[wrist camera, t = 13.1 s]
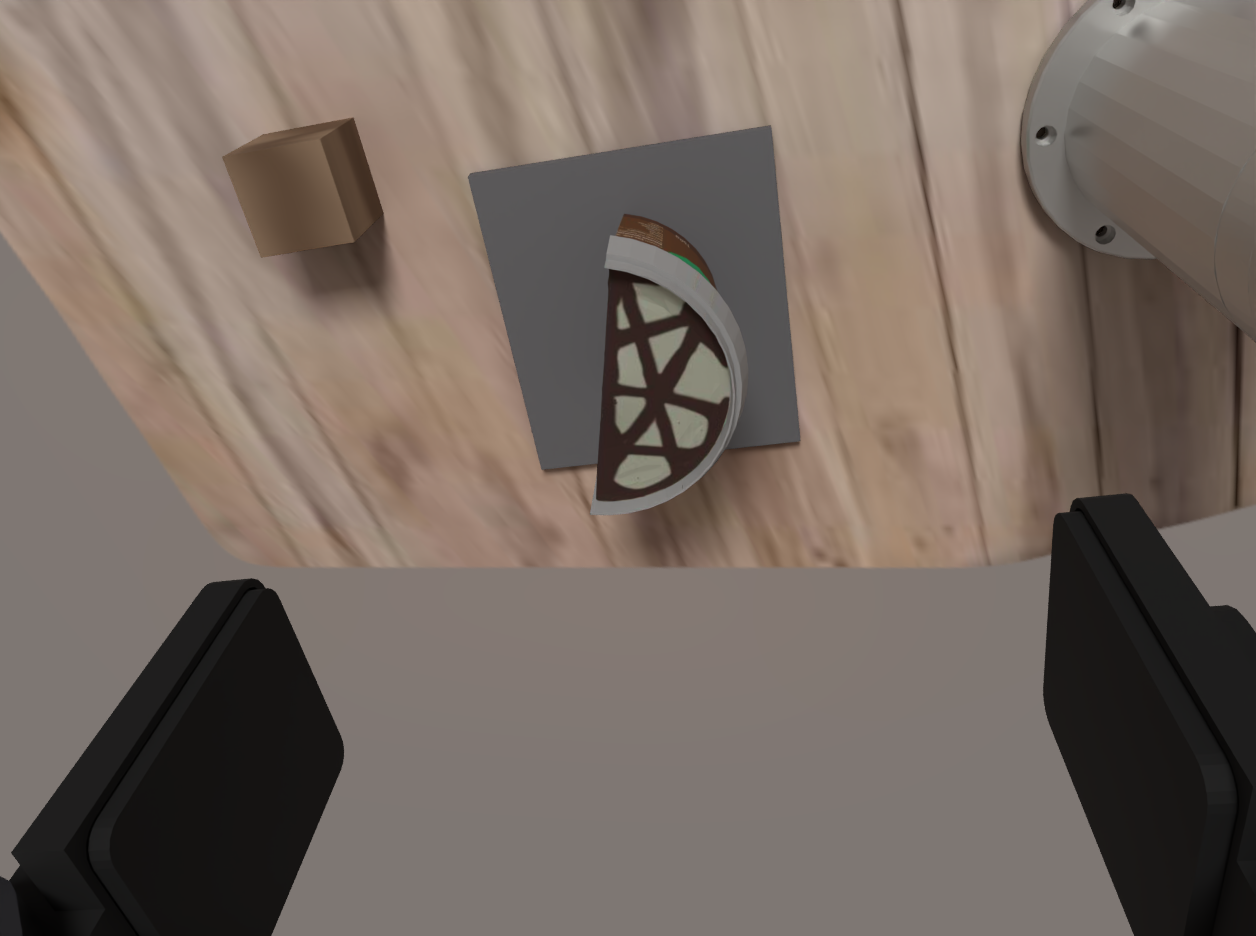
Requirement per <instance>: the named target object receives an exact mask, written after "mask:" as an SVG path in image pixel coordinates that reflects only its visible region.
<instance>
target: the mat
mask: <svg viewBox="0 0 1256 936" xmlns="http://www.w3.org/2000/svg"><path fill="white" fill-rule="evenodd" d="M468 179H469V183H470V187H471V191H472V195H473V199H474V203H475V207H476V211H477V215H478V219H479V223H480V227H481V231H482V235H483V239H484V243H485V247H486V251H487V255H488V259H489V262H490V266H491V270H492V274H493V278H494V282H495V286H496V290H497V294H498V298H499V302H500V306H501V310H502V314H503V318H504V322H505V326H506V330H507V334H508V338H509V342H510V346H511V350H512V354H513V358H514V362H515V366H516V370H517V374H518V378H519V382H520V386H521V390H522V394H523V397H524V401H525V405H526V409H527V413H528V417H529V421H530V425H531V429H532V433H533V437H534V441H535V445H536V449H537V453H538V457H539V461H540V465H541V469H542V470H543V469H552V468H561V467H570V466H580V465H589V464H598V448H599V434H600V421H601V401H602V384H603V370H604V351H605V337H606V320H607V306H608V305H607V303H608V278H609V269H607V268H604V266H605V262H606V253H607V248H608V244H609V239H610V235H612V236H615V235H616V232H617V230H618V227H619V225H620V222H621V219H622V217H623V214H630V215H636V216H642V217H645V218H648V219H651V220H654V221H657V222H659V223H661V224H663V225H665V226H667V227H669V228H671V229H673V230H674V231H676V232H677V233H679V234H680V235H681V236H683V237H684V238H685V239H686V240H687V241H689V242H690V243H691V244H692V245H693V246H694V247H695V248H696V249H697V251H698V252H699V253H700V255H701V256H702V257H703V259H704V260H705V262H706V264H707V265H708V267H709V269H710V271H711V273H712V276H713V279H714V282H715V285H716V288H717V292H718V293H719V294H720V296H721V297H722V298H723V300H724V301H725V303H726V304H727V305H728V307H729V308H730V310H731V312H732V314H733V316H734V318H735V320H736V322H737V324H738V326H739V328H740V332H741V335H742V338H743V341H744V345H745V348H746V355H747V363H748V386H747V394H746V398H745V403H744V407H743V411H742V413H741V416H740V418H739V421H738V423H737V425H736V428H735V430H734V432H733V434H732V437H731V439H730V441H729V444H728V445H727V447H726V448H725V449H734V448H743V447H752V446H761V445H770V444H779V443H788V442H797V441H800V431H799V421H798V410H797V399H796V388H795V377H794V367H793V356H792V345H791V334H790V324H789V313H788V302H787V291H786V280H785V270H784V259H783V248H782V237H781V227H780V216H779V205H778V194H777V183H776V173H775V162H774V151H773V140H772V130H771V125H770V126H764V127H758V128H751V129H745V130H739V131H733V132H726V133H720V134H714V135H708V136H701V137H695V138H689V139H683V140H676V141H670V142H664V143H658V144H651V145H645V146H639V147H632V148H626V149H620V150H614V151H607V152H601V153H595V154H589V155H582V156H576V157H570V158H564V159H557V160H551V161H545V162H539V163H532V164H526V165H520V166H514V167H507V168H501V169H495V170H489V171H482V172H476V173H471V174H470V175H469V176H468Z"/></svg>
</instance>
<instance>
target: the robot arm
mask: <svg viewBox="0 0 1256 936" xmlns="http://www.w3.org/2000/svg"><path fill="white" fill-rule="evenodd" d="M1112 4H1113V0H1087V1H1086V2H1085V3H1084V5H1083V6H1082V7H1081V8H1080V9H1079V10H1078V11H1077V12H1076V13H1075V14H1074V15H1073V17H1072V18H1071V19H1070V20H1069V21H1068V22H1067V23H1066V24H1065V25H1064V26H1063V28H1062V29H1061V31H1060V32H1059V34H1058V35H1057V37H1056V38H1055V40H1054V41H1053V43H1052V44H1051V46H1050V47H1049V49H1048V50H1047V52H1046V53H1045V55H1044V57H1043V59H1042V61H1041V63H1040V65H1039V68H1038V70H1037V72H1036V74H1035V76H1034V78H1033V81H1032V83H1031V86H1030V90H1029V93H1028V97H1027V101H1026V104H1025V108H1024V112H1023V121H1022V133H1021V147H1022V156H1023V164H1024V170H1025V173H1026V175H1027V178H1028V181H1029V184H1030V187H1031V190H1032V192H1033V194H1034V196H1035V197H1036V199H1037V201H1038V202H1039V204H1040V205H1041V207H1042V209H1043V210H1044V212H1045V213H1046V214H1047V215H1048V216H1049V217H1050V218H1051V219H1052V220H1053V221H1054V223H1055V224H1056V225H1057V226H1058V227H1059V228H1061V229H1062V230H1063V231H1064V232H1066V233H1067V234H1068V235H1069V236H1071V237H1072V238H1073V239H1075V240H1076V241H1077V242H1079V243H1081V244H1083V245H1085V246H1087V247H1089V248H1091V249H1093V250H1095V251H1098V252H1100V253H1105V254H1109V255H1113V256H1117V257H1121V258H1128V259H1151V260H1152V259H1158V260H1159V261H1160V262H1161V263H1163V264H1164V265H1165V266H1166V267H1167V268H1169V269H1170V270H1171V271H1172V272H1173V273H1174V274H1176V275H1177V276H1178V277H1179V278H1180V279H1182V280H1183V281H1184V282H1185V283H1186V284H1187V285H1189V286H1190V287H1191V288H1192V289H1193V290H1195V291H1196V292H1197V293H1198V294H1199V295H1201V296H1202V297H1203V298H1204V299H1205V300H1206V301H1208V302H1209V303H1210V304H1211V305H1212V306H1214V307H1215V308H1216V309H1217V310H1218V311H1220V312H1221V313H1222V314H1223V315H1224V316H1225V317H1227V318H1228V319H1229V320H1230V321H1231V322H1233V323H1234V324H1235V325H1236V326H1237V327H1239V328H1240V329H1241V330H1242V331H1243V332H1244V333H1246V334H1247V335H1248V336H1249V337H1250V338H1251V339H1252V340H1254V341H1255V342H1256V0H1122V1H1121V4H1120V5H1119V6H1118V7H1116V8H1113V7H1112ZM1042 127H1045V128H1046V132H1045V134H1044V135H1043V136H1042V137H1036V133H1037V132H1038V130H1039V129H1040V128H1042ZM1102 226H1104V229H1103V231H1102V232H1101V233H1098V234H1096V231H1097V230H1098V229H1099V228H1100V227H1102ZM1049 588H1050V589H1049V603H1048V604H1049V605H1048V620H1047V637H1046V652H1045V668H1044V669H1045V670H1044V685H1043V696H1044V705H1045V710H1046V715H1047V718H1048V721H1049V724H1050V727H1051V729H1052V732H1053V734H1054V737H1055V739H1056V742H1057V744H1058V747H1059V749H1060V752H1061V754H1062V757H1063V759H1064V762H1065V764H1066V767H1067V769H1068V772H1069V774H1070V777H1071V779H1072V782H1073V784H1074V787H1075V789H1076V792H1077V794H1078V797H1079V799H1080V802H1081V804H1082V806H1083V809H1084V812H1085V814H1086V817H1087V819H1088V822H1089V824H1090V827H1091V829H1092V832H1093V834H1094V837H1095V839H1096V842H1097V844H1098V847H1099V849H1100V852H1101V854H1102V857H1103V859H1104V862H1105V864H1106V867H1107V869H1108V872H1109V874H1110V877H1111V879H1112V882H1113V884H1114V887H1115V889H1116V892H1117V894H1118V897H1119V899H1120V902H1121V904H1122V906H1123V909H1124V912H1125V914H1126V917H1127V919H1128V922H1129V924H1130V927H1131V929H1132V932H1133V934H1134V936H1256V633H1255V631H1254V630H1253V628H1252V627H1251V625H1250V624H1249V623H1248V621H1247V620H1246V619H1245V618H1244V617H1243V616H1242V615H1241V613H1240V612H1239V611H1238V610H1237V609H1235V608H1233V607H1230V606H1228V605H1224V606H1211V607H1210V606H1209V604H1208V603H1207V602H1206V600H1205V599H1204V597H1203V596H1202V594H1201V593H1200V591H1199V590H1198V588H1197V587H1196V585H1195V584H1194V583H1193V581H1192V580H1191V578H1190V577H1189V576H1188V574H1187V572H1186V571H1185V570H1184V568H1183V567H1182V565H1181V564H1180V562H1179V561H1178V559H1177V558H1176V557H1175V555H1174V554H1173V552H1172V551H1171V549H1170V548H1169V547H1168V545H1167V543H1166V542H1165V540H1164V539H1163V538H1162V536H1161V535H1160V533H1159V532H1158V530H1157V529H1156V527H1155V526H1154V524H1153V523H1152V522H1151V520H1150V519H1149V517H1148V516H1147V514H1146V513H1145V511H1144V510H1143V508H1142V507H1141V506H1140V504H1139V503H1138V501H1137V500H1136V499H1135V498H1134V497H1133V495H1131V494H1127V493H1126V494H1116V495H1106V496H1096V497H1085V498H1076V499H1075V500H1073V502H1072V505H1071V508H1070V512H1065V513H1058V514H1056V516H1055V518H1054V524H1053V538H1052V555H1051V573H1050V587H1049ZM343 759H344V746H343V741H342V738H341V735H340V733H339V731H338V729H337V726H336V724H335V722H334V720H333V717H332V715H331V713H330V711H329V709H328V706H327V704H326V702H325V700H324V697H323V695H322V693H321V691H320V688H319V686H318V684H317V681H316V679H315V677H314V675H313V673H312V670H311V668H310V666H309V664H308V661H307V659H306V657H305V655H304V652H303V650H302V648H301V646H300V643H299V641H298V639H297V637H296V634H295V632H294V630H293V628H292V625H291V623H290V621H289V619H288V617H287V614H286V612H285V610H284V608H283V605H282V603H281V601H280V599H279V597H278V595H277V593H276V592H275V591H273V590H272V589H269V588H267V589H266V588H265V587H264V585H263V584H262V583H261V582H260V581H259V580H256V579H252V578H251V579H241V580H231V581H221V582H213V583H209V584H207V585H206V586H205V587H204V588H203V589H202V590H201V592H200V593H199V594H198V596H197V597H196V598H195V600H194V601H193V602H192V604H191V605H190V607H189V608H188V609H187V611H186V612H185V614H184V615H183V616H182V618H181V619H180V621H179V622H178V623H177V625H176V626H175V627H174V629H173V630H172V632H171V633H170V634H169V636H168V637H167V639H166V640H165V641H164V643H163V644H162V645H161V647H160V648H159V650H158V651H157V652H156V654H155V655H154V656H153V658H152V659H151V661H150V662H149V663H148V665H147V666H146V667H145V669H144V670H143V671H142V673H141V674H140V676H139V677H138V678H137V680H136V681H135V683H134V684H133V685H132V687H131V688H130V690H129V691H128V692H127V694H126V695H125V696H124V698H123V699H122V700H121V702H120V703H119V705H118V706H117V707H116V709H115V710H114V712H113V713H112V714H111V716H110V717H109V718H108V720H107V721H106V723H105V724H104V725H103V727H102V728H101V730H100V731H99V732H98V734H97V735H96V736H95V738H94V739H93V741H92V742H91V743H90V745H89V746H88V747H87V749H86V750H85V752H84V753H83V754H82V756H81V757H80V759H79V760H78V761H77V763H76V764H75V766H74V767H73V768H72V770H71V771H70V772H69V774H68V775H67V776H66V778H65V779H64V781H63V782H62V783H61V785H60V786H59V787H58V789H57V790H56V792H55V793H54V794H53V796H52V797H51V798H50V800H49V801H48V803H47V804H46V805H45V807H44V808H43V810H42V811H41V812H40V814H39V815H38V816H37V818H36V819H35V821H34V822H33V823H32V825H31V826H30V827H29V829H28V830H27V832H26V833H25V835H24V836H23V837H22V838H21V840H20V841H19V843H18V844H17V845H16V847H15V848H14V850H13V851H12V852H11V853H12V855H13V856H14V857H15V859H16V860H17V861H18V863H19V864H20V866H19V868H18V869H17V870H16V872H15V873H14V875H13V876H12V877H11V879H10V880H9V881H8V880H6V879H5V878H3V877H1V876H0V936H271V935H272V933H273V930H274V928H275V925H276V923H277V921H278V918H279V916H280V914H281V911H282V909H283V906H284V904H285V902H286V899H287V897H288V895H289V892H290V890H291V887H292V885H293V883H294V880H295V878H296V875H297V873H298V871H299V868H300V866H301V864H302V861H303V859H304V856H305V854H306V851H307V849H308V847H309V845H310V842H311V840H312V837H313V835H314V833H315V830H316V828H317V825H318V823H319V821H320V818H321V816H322V814H323V811H324V809H325V806H326V804H327V802H328V799H329V797H330V795H331V792H332V790H333V787H334V785H335V783H336V780H337V778H338V775H339V773H340V771H341V767H342V764H343Z"/></svg>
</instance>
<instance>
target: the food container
mask: <svg viewBox="0 0 1256 936" xmlns="http://www.w3.org/2000/svg"><path fill="white" fill-rule="evenodd" d="M604 268H607V269H609V278H608V303H607V305H608V306H607V320H606V337H605V351H604V370H603V384H602V401H601V421H600V434H599V448H598V465H597V477H596V483H595V489H594V495H593V500H592V506H591V512H590V515H617V514H627V513H632V512H636V511H641V510H645V509H649V508H651V507H654V506H656V505H659V504H661V503H664V502H666V501H668V500H670V499H672V498H674V497H675V496H677V495H679V494H681V493H682V492H684V491H685V490H686V489H688V488H689V487H690V486H691V485H693V484H694V483H695V482H696V481H698V480H699V479H700V478H701V477H703V476H704V475H705V474H706V473H707V472H708V470H709V469H710V468H711V467H712V466H713V465H714V464H715V463H716V462H717V461H718V459H719V458H720V456H721V455H722V453H723V451H724V450H725V448H726V447H727V445H728V444H729V441H730V439H731V437H732V434H733V432H734V430H735V428H736V425H737V423H738V421H739V418H740V416H741V413H742V411H743V407H744V403H745V398H746V394H747V386H748V363H747V355H746V348H745V345H744V341H743V338H742V335H741V332H740V328H739V326H738V324H737V322H736V320H735V318H734V316H733V314H732V312H731V310H730V308H729V307H728V305H727V304H726V303H725V301H724V300H723V298H722V297H721V296H720V294H719V293H718V292H717V288H716V285H715V282H714V279H713V276H712V273H711V271H710V269H709V267H708V265H707V264H706V262H705V260H704V259H703V257H702V256H701V255H700V253H699V252H698V251H697V249H696V248H695V247H694V246H693V245H692V244H691V243H690V242H689V241H687V240H686V239H685V238H684V237H683V236H681V235H680V234H679V233H677V232H676V231H674V230H673V229H671V228H669V227H667V226H665V225H663V224H661V223H659V222H657V221H654V220H651V219H648V218H645V217H642V216H636V215H630V214H623V217H622V219H621V222H620V225H619V227H618V230H617V232H616V235H615V236H612V235H610V239H609V244H608V248H607V253H606V262H605V266H604Z"/></svg>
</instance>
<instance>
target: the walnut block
mask: <svg viewBox="0 0 1256 936" xmlns="http://www.w3.org/2000/svg"><path fill="white" fill-rule="evenodd" d="M222 158H223V160H224V163H225V166H226V168H227V171H228V173H229V176H230V178H231V181H232V184H233V186H234V189H235V191H236V194H237V197H238V199H239V202H240V204H241V207H242V209H243V212H244V215H245V217H246V220H247V222H248V225H249V228H250V230H251V233H252V235H253V238H254V240H255V243H256V246H257V248H258V251H259V253H260V256H261V258H262V257H268V256H274V255H280V254H286V253H292V252H298V251H304V250H310V249H316V248H322V247H328V246H334V245H340V244H346V243H352V242H355V241H356V240H357V239H358V238H359V237H360V236H361V235H362V234H363V233H364V232H365V231H366V230H367V229H368V228H369V227H370V226H371V225H372V224H373V223H374V222H375V221H376V220H377V219H378V218H379V217H380V216H381V215H382V214H383V210H382V207H381V204H380V200H379V197H378V194H377V191H376V188H375V184H374V181H373V178H372V175H371V172H370V169H369V165H368V162H367V159H366V156H365V153H364V149H363V146H362V143H361V140H360V137H359V134H358V130H357V127H356V124H355V121H354V118H348V119H343V120H338V121H332V122H327V123H322V124H316V125H311V126H306V127H300V128H295V129H290V130H284V131H279V132H274V133H268V134H263V135H261V136H260V137H258V138H256V139H254V140H252V141H251V142H249V143H247V144H245V145H243V146H241V147H240V148H238V149H236V150H234V151H232V152H230V153H229V154H227V155H225V156H223V157H222Z"/></svg>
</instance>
